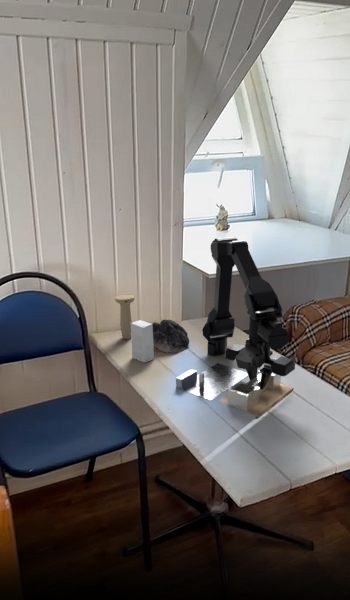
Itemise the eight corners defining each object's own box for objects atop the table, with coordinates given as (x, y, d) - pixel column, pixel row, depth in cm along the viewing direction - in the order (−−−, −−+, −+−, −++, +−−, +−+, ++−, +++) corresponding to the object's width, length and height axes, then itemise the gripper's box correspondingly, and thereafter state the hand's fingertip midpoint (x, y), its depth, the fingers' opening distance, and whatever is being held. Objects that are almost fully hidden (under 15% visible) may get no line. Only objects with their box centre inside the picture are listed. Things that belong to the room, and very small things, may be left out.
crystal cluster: (196, 342, 189) (195, 314, 187) (181, 355, 177) (180, 325, 175) (161, 340, 194) (159, 313, 192) (144, 352, 182) (142, 323, 180)
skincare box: (154, 359, 176) (153, 323, 172) (144, 363, 173) (143, 327, 169) (141, 353, 180) (139, 319, 176) (131, 358, 177) (129, 323, 173)
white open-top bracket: (263, 379, 159) (263, 365, 157) (281, 385, 155) (282, 371, 153) (227, 404, 146) (228, 389, 144) (247, 411, 142) (247, 396, 140)
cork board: (256, 378, 161) (256, 375, 161) (293, 390, 154) (293, 387, 154) (218, 404, 148) (218, 401, 147) (257, 419, 140) (257, 415, 140)
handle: (137, 339, 191) (135, 298, 186) (118, 341, 189) (116, 300, 185) (134, 334, 195) (132, 294, 190) (116, 336, 194) (114, 295, 189)
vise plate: (217, 365, 170) (217, 349, 168) (250, 376, 163) (251, 359, 161) (176, 390, 155) (175, 373, 154) (210, 403, 148) (210, 385, 146)
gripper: (213, 335, 145) (212, 388, 150) (275, 353, 134) (273, 410, 139) (236, 323, 153) (235, 373, 158) (297, 339, 142) (294, 393, 147)
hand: (258, 387), depth 150 cm, fingers closed on white open-top bracket, 2 cm apart
